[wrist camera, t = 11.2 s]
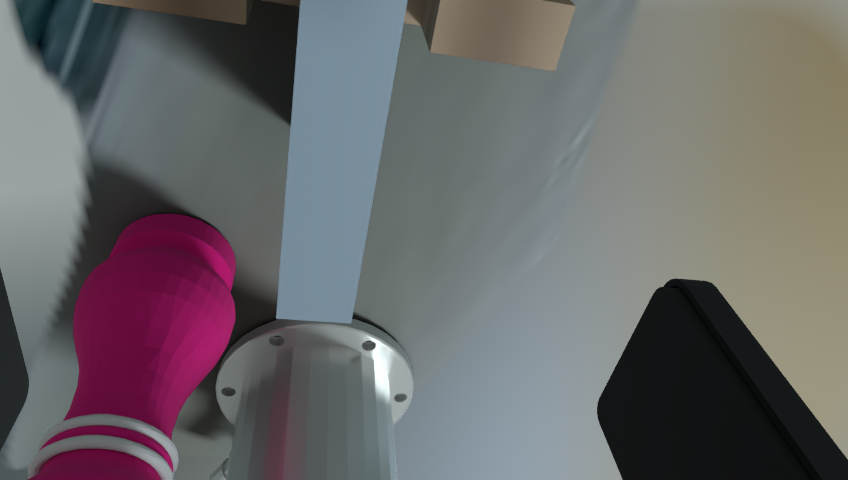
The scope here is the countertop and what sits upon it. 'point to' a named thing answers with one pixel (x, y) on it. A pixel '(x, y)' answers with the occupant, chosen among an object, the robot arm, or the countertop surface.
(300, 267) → the light blue flat board
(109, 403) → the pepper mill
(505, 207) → the countertop surface
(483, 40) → the brown wooden u-shaped block
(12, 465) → the countertop surface
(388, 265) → the countertop surface
